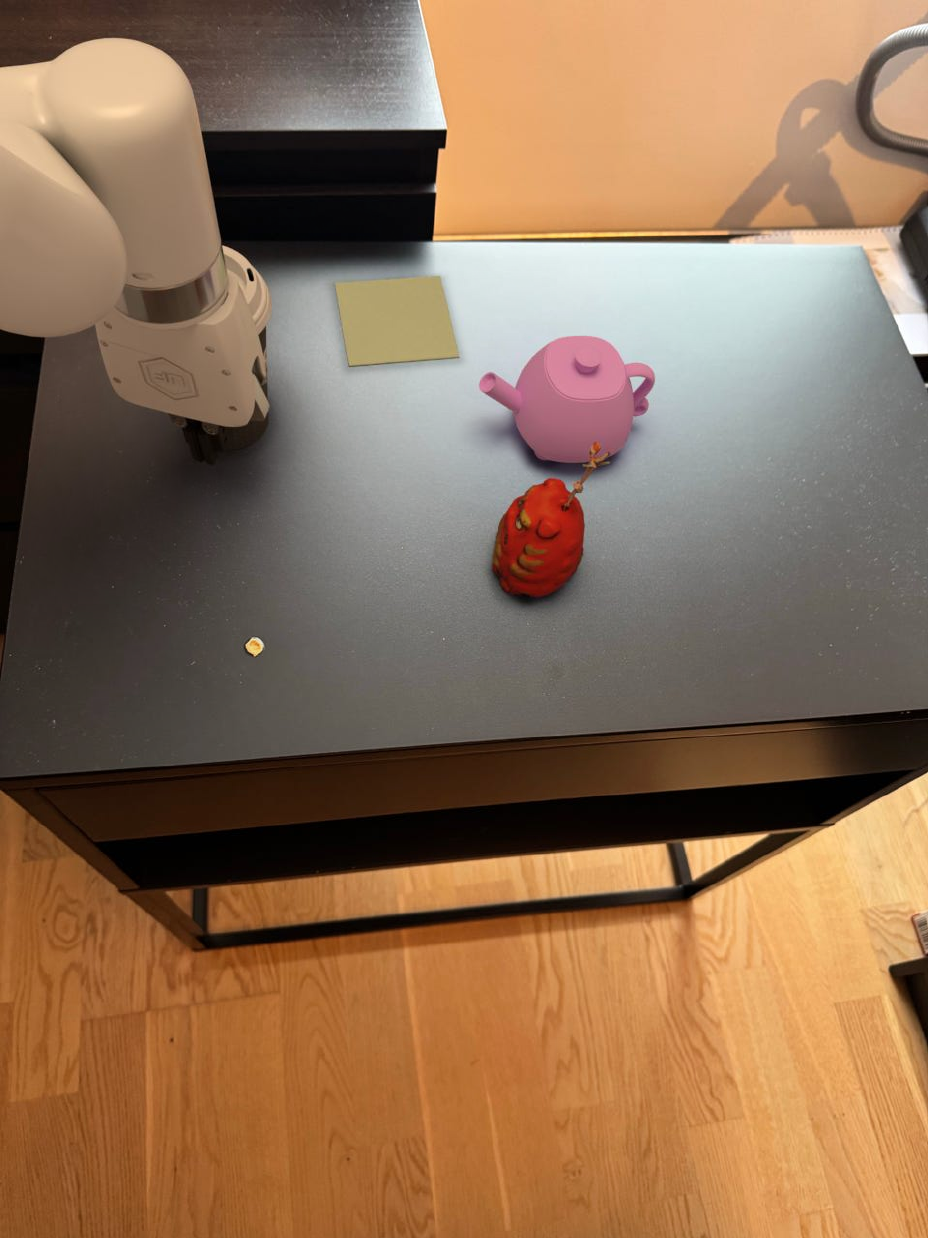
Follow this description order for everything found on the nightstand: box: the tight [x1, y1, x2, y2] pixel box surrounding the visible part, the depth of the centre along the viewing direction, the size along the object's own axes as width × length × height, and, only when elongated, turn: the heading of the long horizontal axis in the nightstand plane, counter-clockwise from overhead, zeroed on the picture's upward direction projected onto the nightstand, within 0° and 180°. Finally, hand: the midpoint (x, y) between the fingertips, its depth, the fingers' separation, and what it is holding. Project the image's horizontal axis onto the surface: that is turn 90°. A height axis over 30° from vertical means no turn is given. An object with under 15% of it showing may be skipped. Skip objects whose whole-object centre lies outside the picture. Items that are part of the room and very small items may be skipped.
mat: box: [334, 275, 460, 368], centre depth 83 cm, size 10×10×1 cm
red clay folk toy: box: [491, 442, 611, 598], centre depth 66 cm, size 8×7×15 cm
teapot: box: [478, 335, 656, 464], centre depth 75 cm, size 10×15×9 cm
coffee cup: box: [222, 245, 273, 451], centre depth 70 cm, size 10×10×15 cm
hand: (210, 448), depth 72 cm, fingers closed
